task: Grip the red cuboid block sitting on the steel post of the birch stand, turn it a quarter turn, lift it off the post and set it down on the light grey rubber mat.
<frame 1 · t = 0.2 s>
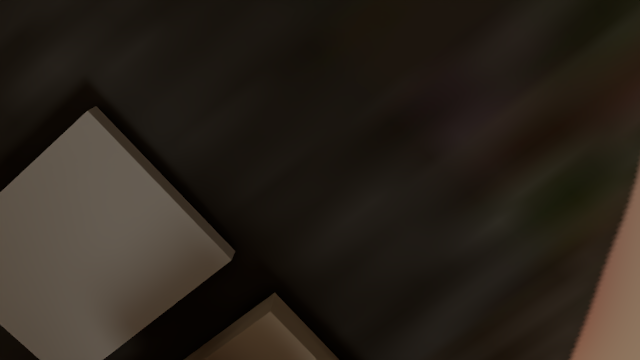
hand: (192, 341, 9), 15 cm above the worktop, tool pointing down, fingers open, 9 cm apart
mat: (85, 251, 26), on the worktop
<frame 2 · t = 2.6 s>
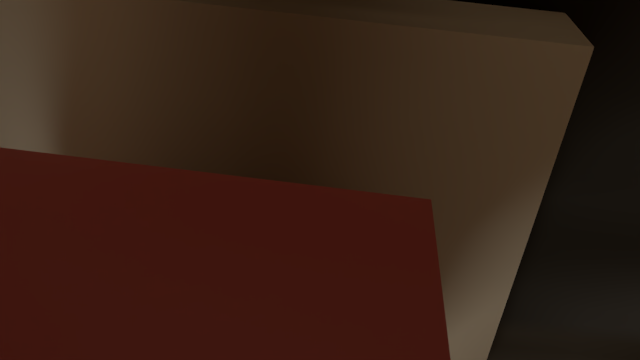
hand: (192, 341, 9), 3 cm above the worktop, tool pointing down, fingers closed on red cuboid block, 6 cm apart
post stand: (237, 212, 12), on the worktop
red cuboid block: (191, 339, 9), point 3 cm above the worktop, touching gripper, post stand
when the fingers open (2 cm above the worktop, at t = 8.6 s): red cuboid block drops 2 cm, resting on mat.
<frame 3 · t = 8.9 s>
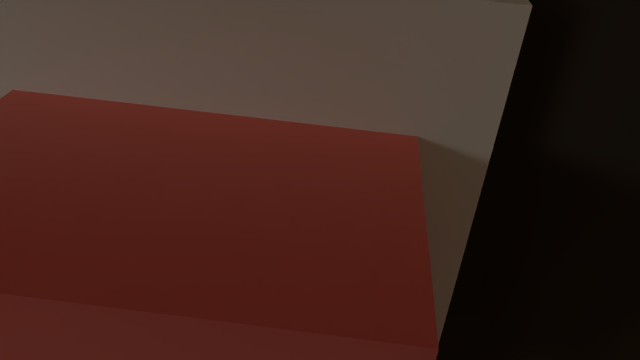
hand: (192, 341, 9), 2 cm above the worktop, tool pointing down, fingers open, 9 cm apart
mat: (230, 239, 11), on the worktop
red cuboid block: (215, 268, 10), point 1 cm above the worktop, touching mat
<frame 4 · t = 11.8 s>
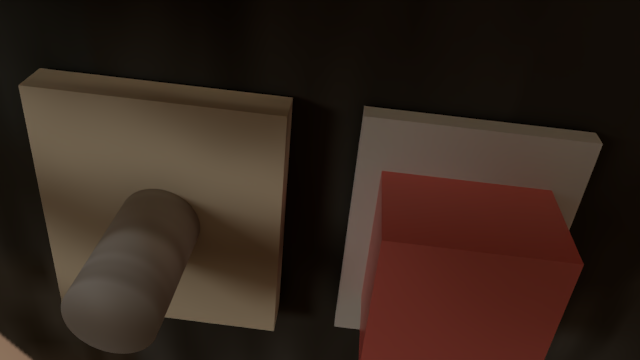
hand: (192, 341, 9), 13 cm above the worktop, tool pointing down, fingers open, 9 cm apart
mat: (450, 233, 23), on the worktop
post stand: (172, 199, 24), on the worktop
red cuboid block: (449, 246, 23), point 1 cm above the worktop, touching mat
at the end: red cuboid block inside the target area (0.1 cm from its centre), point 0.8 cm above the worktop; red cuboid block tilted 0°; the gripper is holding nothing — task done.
